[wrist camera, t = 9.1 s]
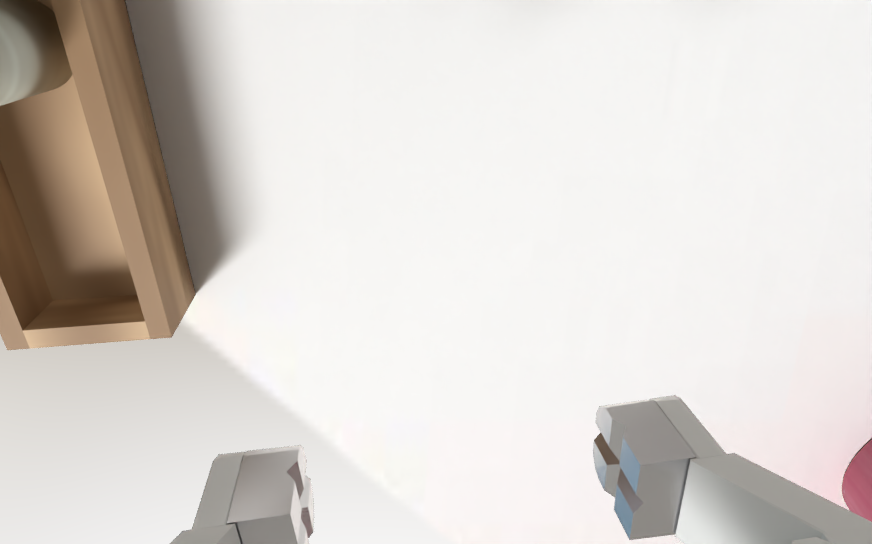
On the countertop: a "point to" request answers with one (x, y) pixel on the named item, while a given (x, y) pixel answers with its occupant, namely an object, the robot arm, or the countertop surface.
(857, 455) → the plant pot
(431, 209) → the countertop surface
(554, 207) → the countertop surface
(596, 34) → the countertop surface
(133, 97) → the teak tray
